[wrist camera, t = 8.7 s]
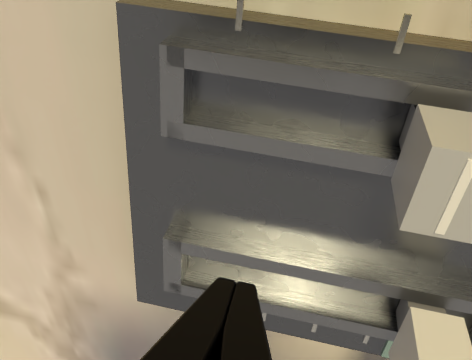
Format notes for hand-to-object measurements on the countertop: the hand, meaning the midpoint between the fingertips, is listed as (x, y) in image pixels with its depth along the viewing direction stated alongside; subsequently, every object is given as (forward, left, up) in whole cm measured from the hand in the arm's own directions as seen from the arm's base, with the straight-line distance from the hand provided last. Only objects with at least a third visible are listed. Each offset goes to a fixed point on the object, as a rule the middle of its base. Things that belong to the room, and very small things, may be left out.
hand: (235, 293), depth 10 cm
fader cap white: (-13, 0, -10) cm, 17 cm away
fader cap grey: (-4, -4, -10) cm, 12 cm away
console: (-7, +1, -12) cm, 14 cm away
